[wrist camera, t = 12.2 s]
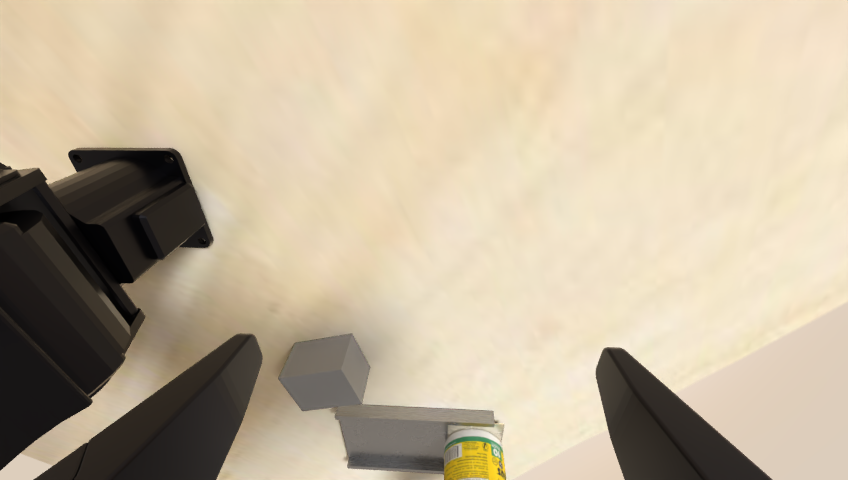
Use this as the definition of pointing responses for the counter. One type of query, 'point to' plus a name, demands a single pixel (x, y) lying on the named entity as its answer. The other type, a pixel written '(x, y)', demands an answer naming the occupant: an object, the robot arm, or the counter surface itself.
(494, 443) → the supplement bottle
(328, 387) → the block
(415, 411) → the grey flat tray
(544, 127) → the counter surface
